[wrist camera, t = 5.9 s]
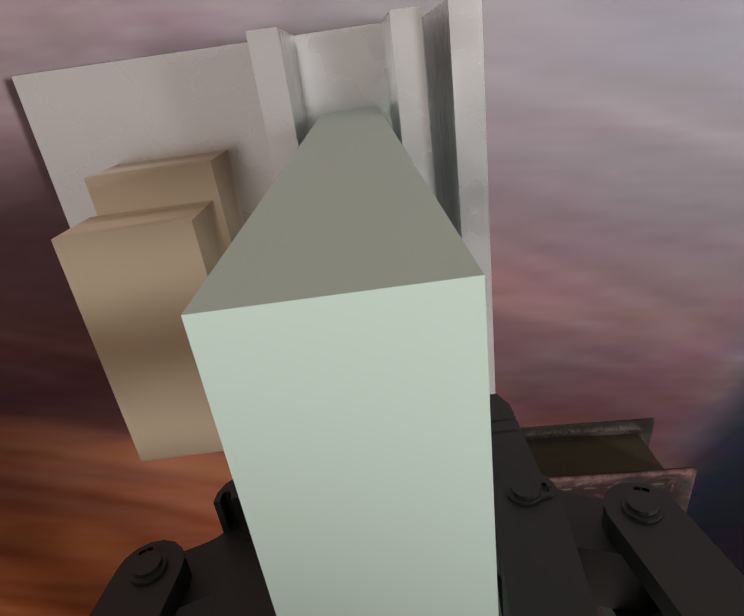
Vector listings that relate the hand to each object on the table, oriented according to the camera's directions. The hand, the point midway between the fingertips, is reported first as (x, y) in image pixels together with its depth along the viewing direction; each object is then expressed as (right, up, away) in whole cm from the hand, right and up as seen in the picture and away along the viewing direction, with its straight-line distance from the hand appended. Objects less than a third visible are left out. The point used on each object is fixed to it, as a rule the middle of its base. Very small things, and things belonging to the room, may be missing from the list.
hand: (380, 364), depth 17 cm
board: (0, +4, +9) cm, 10 cm away
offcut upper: (-8, +1, +6) cm, 11 cm away
